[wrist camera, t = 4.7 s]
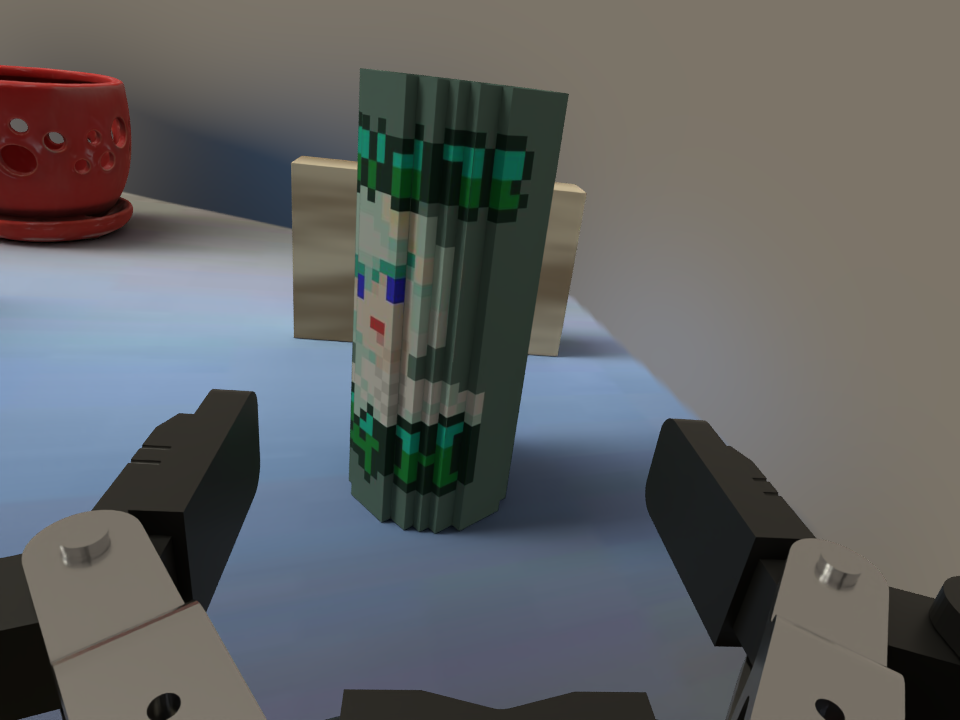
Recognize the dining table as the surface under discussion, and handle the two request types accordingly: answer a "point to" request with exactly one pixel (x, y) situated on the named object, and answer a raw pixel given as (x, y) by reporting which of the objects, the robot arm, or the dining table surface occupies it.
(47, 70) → the plant pot
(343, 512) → the dining table surface
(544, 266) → the ash board
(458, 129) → the can
